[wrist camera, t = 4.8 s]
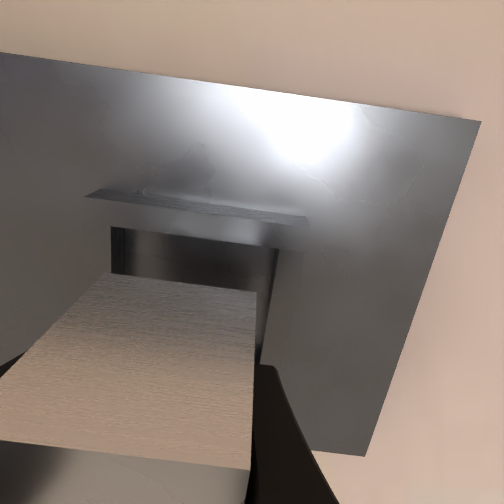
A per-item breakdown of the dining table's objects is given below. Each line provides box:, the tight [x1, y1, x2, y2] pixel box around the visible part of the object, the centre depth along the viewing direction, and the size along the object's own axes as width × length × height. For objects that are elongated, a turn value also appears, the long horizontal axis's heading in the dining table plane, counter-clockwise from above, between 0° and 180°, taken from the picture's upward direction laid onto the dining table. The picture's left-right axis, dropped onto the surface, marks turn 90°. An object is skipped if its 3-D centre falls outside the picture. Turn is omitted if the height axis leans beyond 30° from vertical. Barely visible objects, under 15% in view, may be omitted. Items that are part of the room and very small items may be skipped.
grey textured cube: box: [0, 273, 257, 504], centre depth 8 cm, size 4×4×5 cm
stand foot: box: [0, 52, 482, 457], centre depth 13 cm, size 16×14×2 cm
